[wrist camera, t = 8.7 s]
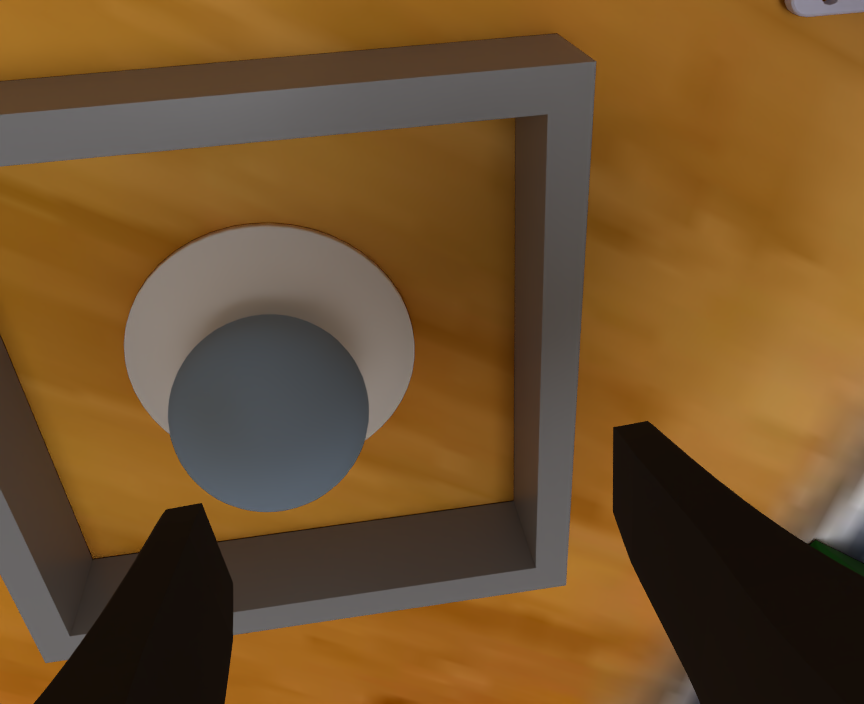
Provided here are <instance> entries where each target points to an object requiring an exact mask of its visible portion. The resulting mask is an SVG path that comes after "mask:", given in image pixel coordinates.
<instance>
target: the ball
mask: <svg viewBox="0 0 864 704" xmlns="http://www.w3.org/2000/svg"><path fill="white" fill-rule="evenodd" d="M368 422H369V401H368V394H367V390H366V386H365V383H364V379H363V376H362V374H361V372H360V370H359V368H358V366H357V364H356V362H355V360H354V359H353V358H352V356H351V355H350V353H349V352H348V351H347V350H346V349H345V348H344V347H343V345H342V344H341V343H340V342H339V341H338V340H337V339H336V338H334V337H333V336H332V335H331V334H330V333H328V332H326V331H325V330H323V329H322V328H320V327H318V326H316V325H314V324H312V323H310V322H308V321H305V320H302V319H299V318H296V317H291V316H286V315H277V314H262V315H254V316H249V317H245V318H241V319H238V320H235V321H233V322H230V323H228V324H225V325H224V326H222V327H220V328H218V329H216V330H215V331H213V332H212V333H210V334H209V335H207V336H206V337H205V338H204V339H203V340H202V341H201V342H200V343H198V344H197V345H196V346H195V347H194V348H193V350H192V351H191V352H190V353H189V354H188V356H187V357H186V359H185V360H184V362H183V363H182V365H181V367H180V369H179V370H178V372H177V375H176V377H175V380H174V383H173V385H172V388H171V393H170V397H169V405H168V424H169V431H170V437H171V440H172V444H173V447H174V449H175V452H176V455H177V457H178V458H179V460H180V462H181V464H182V465H183V467H184V468H185V470H186V471H187V473H188V474H189V475H190V477H191V478H192V479H193V480H194V481H195V482H196V483H197V484H198V485H199V486H200V487H201V488H203V489H204V490H205V491H206V492H208V493H209V494H210V495H212V496H213V497H215V498H216V499H218V500H220V501H222V502H224V503H226V504H229V505H232V506H235V507H238V508H241V509H245V510H250V511H257V512H277V511H284V510H289V509H293V508H296V507H299V506H302V505H305V504H308V503H310V502H312V501H314V500H316V499H318V498H319V497H321V496H323V495H324V494H326V493H327V492H328V491H329V490H331V489H332V488H333V487H334V486H336V485H337V484H338V483H339V482H340V481H341V480H342V479H343V478H344V477H345V475H346V474H347V473H348V471H349V470H350V469H351V467H352V466H353V465H354V463H355V461H356V459H357V458H358V456H359V454H360V451H361V449H362V447H363V444H364V441H365V438H366V433H367V428H368Z"/></svg>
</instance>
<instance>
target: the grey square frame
mask: <svg viewBox="0 0 864 704" xmlns="http://www.w3.org/2000/svg"><path fill="white" fill-rule="evenodd" d="M595 73H596V61H595V60H593V59H592V58H591V57H589V56H588V55H586V54H585V53H584V52H582V51H581V50H579V49H578V48H577V47H575V46H574V45H572V44H571V43H570V42H568V41H567V40H565V39H564V38H563V37H561V36H560V35H558V34H546V35H534V36H522V37H511V38H499V39H487V40H476V41H464V42H452V43H441V44H429V45H418V46H406V47H394V48H383V49H371V50H359V51H348V52H336V53H324V54H313V55H301V56H290V57H278V58H266V59H255V60H243V61H231V62H220V63H208V64H196V65H185V66H173V67H162V68H150V69H138V70H127V71H115V72H103V73H92V74H80V75H69V76H57V77H45V78H34V79H22V80H10V81H0V166H10V165H20V164H31V163H41V162H52V161H62V160H73V159H83V158H94V157H104V156H115V155H125V154H136V153H146V152H157V151H167V150H178V149H188V148H199V147H209V146H220V145H230V144H241V143H251V142H262V141H272V140H283V139H293V138H304V137H314V136H325V135H336V134H346V133H357V132H367V131H378V130H388V129H399V128H409V127H420V126H430V125H441V124H451V123H462V122H472V121H483V120H493V119H504V118H514V117H516V131H515V354H514V501H511V502H504V503H497V504H490V505H482V506H475V507H468V508H461V509H454V510H446V511H439V512H432V513H425V514H418V515H410V516H403V517H396V518H389V519H382V520H374V521H367V522H360V523H353V524H346V525H338V526H331V527H324V528H317V529H310V530H302V531H295V532H288V533H281V534H274V535H266V536H259V537H252V538H245V539H238V540H230V541H223V542H217V543H218V546H219V548H220V551H221V553H222V556H223V558H224V561H225V563H226V566H227V568H228V571H229V574H230V576H231V579H232V581H233V635H236V634H243V633H249V632H256V631H263V630H269V629H276V628H283V627H290V626H296V625H303V624H310V623H316V622H323V621H330V620H336V619H343V618H350V617H356V616H363V615H370V614H377V613H383V612H390V611H397V610H403V609H410V608H417V607H423V606H430V605H437V604H444V603H450V602H457V601H464V600H470V599H477V598H484V597H490V596H497V595H504V594H510V593H517V592H524V591H531V590H537V589H544V588H551V587H557V586H564V585H566V575H567V558H568V541H569V523H570V506H571V489H572V471H573V454H574V437H575V419H576V402H577V385H578V368H579V350H580V333H581V316H582V298H583V281H584V264H585V246H586V229H587V212H588V195H589V177H590V160H591V143H592V125H593V108H594V91H595ZM262 314H277V315H286V316H291V317H296V318H299V319H302V320H305V321H308V322H310V323H312V324H314V325H316V326H318V327H320V328H322V329H323V330H325V331H326V332H328V333H330V334H331V335H332V336H333V337H334V338H336V339H337V340H338V341H339V342H340V343H341V344H342V345H343V347H344V348H345V349H346V350H347V351H348V352H349V353H350V355H351V356H352V358H353V359H354V360H355V362H356V364H357V366H358V368H359V370H360V372H361V374H362V376H363V379H364V383H365V386H366V390H367V394H368V401H369V422H368V428H367V433H366V438H365V440H366V439H367V438H369V437H370V436H371V435H373V434H374V433H375V432H376V431H377V430H378V429H379V428H380V427H382V426H383V424H384V423H385V422H386V421H387V420H388V419H389V418H390V416H391V415H392V414H393V413H394V411H395V410H396V408H397V407H398V405H399V404H400V402H401V400H402V398H403V396H404V394H405V392H406V390H407V388H408V385H409V382H410V378H411V375H412V371H413V364H414V337H413V330H412V325H411V321H410V318H409V315H408V312H407V309H406V306H405V304H404V302H403V300H402V298H401V296H400V294H399V292H398V290H397V289H396V287H395V286H394V284H393V283H392V282H391V280H390V279H389V277H388V276H387V275H386V274H385V273H384V272H383V271H382V270H381V269H380V268H379V266H378V265H377V264H375V263H374V262H373V261H372V260H371V259H369V258H368V257H367V256H366V255H365V254H363V253H362V252H360V251H359V250H357V249H356V248H354V247H352V246H351V245H349V244H348V243H346V242H344V241H342V240H339V239H337V238H335V237H333V236H331V235H329V234H326V233H322V232H319V231H316V230H313V229H310V228H305V227H300V226H295V225H290V224H277V223H257V224H245V225H239V226H233V227H228V228H224V229H221V230H218V231H214V232H211V233H208V234H206V235H204V236H201V237H199V238H197V239H195V240H192V241H191V242H189V243H187V244H186V245H184V246H182V247H181V248H179V249H177V250H176V251H174V252H173V253H172V254H171V255H170V256H168V257H167V258H166V259H165V260H164V261H162V262H161V263H160V264H159V265H158V266H157V267H156V269H155V270H154V271H153V272H152V273H151V274H150V275H149V276H148V278H147V279H146V281H145V282H144V284H143V285H142V287H141V288H140V290H139V292H138V294H137V296H136V298H135V301H134V303H133V305H132V307H131V310H130V313H129V317H128V321H127V324H126V328H125V338H124V353H125V363H126V367H127V371H128V376H129V379H130V381H131V384H132V386H133V389H134V391H135V393H136V395H137V396H138V398H139V400H140V402H141V403H142V405H143V407H144V408H145V409H146V410H147V412H148V413H149V414H150V415H151V417H152V418H153V419H154V420H155V421H156V422H157V423H158V424H159V425H160V426H161V427H162V428H163V429H164V430H165V431H166V432H168V433H169V434H170V431H169V424H168V405H169V397H170V393H171V388H172V385H173V383H174V380H175V377H176V375H177V372H178V370H179V369H180V367H181V365H182V363H183V362H184V360H185V359H186V357H187V356H188V354H189V353H190V352H191V351H192V350H193V348H194V347H195V346H196V345H197V344H198V343H200V342H201V341H202V340H203V339H204V338H205V337H206V336H207V335H209V334H210V333H212V332H213V331H215V330H216V329H218V328H220V327H222V326H224V325H225V324H228V323H230V322H233V321H235V320H238V319H241V318H245V317H249V316H254V315H262ZM138 554H139V553H137V554H130V555H122V556H115V557H108V558H101V559H94V560H93V559H92V557H91V555H90V552H89V550H88V547H87V545H86V542H85V540H84V538H83V535H82V533H81V530H80V528H79V525H78V523H77V521H76V518H75V516H74V513H73V511H72V509H71V506H70V504H69V501H68V499H67V496H66V494H65V492H64V489H63V487H62V484H61V482H60V479H59V477H58V475H57V472H56V470H55V467H54V465H53V462H52V460H51V458H50V455H49V453H48V450H47V448H46V446H45V443H44V441H43V438H42V436H41V433H40V431H39V429H38V426H37V424H36V421H35V419H34V416H33V414H32V412H31V409H30V407H29V404H28V402H27V399H26V397H25V395H24V392H23V390H22V387H21V385H20V382H19V380H18V378H17V375H16V373H15V370H14V368H13V366H12V363H11V361H10V358H9V356H8V353H7V351H6V349H5V346H4V344H3V341H2V339H1V336H0V575H1V577H2V579H3V581H4V583H5V585H6V586H7V588H8V590H9V592H10V594H11V596H12V598H13V600H14V602H15V604H16V606H17V608H18V610H19V612H20V614H21V616H22V618H23V620H24V622H25V624H26V626H27V628H28V629H29V631H30V633H31V635H32V637H33V639H34V641H35V643H36V645H37V647H38V649H39V651H40V653H41V655H42V657H43V659H44V661H45V663H49V662H55V661H62V660H68V659H69V658H70V656H71V655H72V654H73V652H74V651H75V649H76V648H77V647H78V645H79V644H80V642H81V641H82V640H83V638H84V637H85V635H86V634H87V633H88V631H89V630H90V628H91V627H92V626H93V624H94V623H95V621H96V620H97V618H98V617H99V615H100V614H101V612H102V611H103V609H104V608H105V606H106V605H107V603H108V602H109V600H110V599H111V597H112V595H113V594H114V592H115V591H116V589H117V588H118V586H119V585H120V583H121V582H122V580H123V578H124V577H125V575H126V574H127V572H128V570H129V569H130V567H131V565H132V564H133V562H134V561H135V559H136V557H137V556H138Z"/></svg>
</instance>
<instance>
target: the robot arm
mask: <svg viewBox="0 0 864 704" xmlns="http://www.w3.org/2000/svg"><path fill="white" fill-rule="evenodd" d="M785 4H786V7H787V9H788V10H789V11H790V12H792V13H793V14H795V15H798V16H804V17H813V16H824V15H836V14H847V13H859V12H864V0H826V1H824V2H823V1H822V0H785ZM613 513H614V516H615V519H616V522H617V525H618V528H619V530H620V533H621V536H622V539H623V542H624V545H625V547H626V550H627V553H628V555H629V558H630V561H631V563H632V565H633V567H634V570H635V572H636V574H637V576H638V578H639V580H640V582H641V584H642V586H643V588H644V590H645V592H646V594H647V596H648V598H649V600H650V602H651V604H652V606H653V608H654V610H655V612H656V614H657V616H658V617H659V619H660V621H661V623H662V625H663V627H664V629H665V631H666V633H667V635H668V637H669V639H670V641H671V643H672V645H673V647H674V649H675V651H676V653H677V655H678V657H679V659H680V661H681V663H682V665H683V667H684V669H685V671H686V673H687V675H688V677H689V679H690V681H691V683H692V686H693V688H694V690H695V692H696V694H697V697H698V699H699V701H700V704H864V576H862V575H860V574H858V573H856V572H854V571H853V570H851V569H849V568H847V567H845V566H844V565H842V564H840V563H838V562H837V561H835V560H833V559H832V558H830V557H828V556H827V555H825V554H823V553H822V552H820V551H818V550H817V549H815V548H813V547H811V546H810V545H808V544H806V543H805V542H803V541H802V540H800V539H799V538H797V537H796V536H794V535H793V534H791V533H790V532H788V531H787V530H785V529H784V528H782V527H781V526H779V525H778V524H776V523H775V522H774V521H772V520H771V519H769V518H768V517H766V516H765V515H764V514H762V513H761V512H759V511H758V510H757V509H755V508H754V507H753V506H751V505H750V504H749V503H747V502H746V501H744V500H743V499H742V498H741V497H739V496H738V495H737V494H735V493H734V492H733V491H732V490H730V489H729V488H728V487H726V486H725V485H724V484H723V483H721V482H720V481H719V480H717V479H716V478H715V477H714V476H712V475H711V474H710V473H709V472H708V471H706V470H705V469H704V468H703V467H701V466H700V465H699V464H698V463H697V462H695V461H694V460H693V459H692V458H691V457H689V456H688V455H687V454H686V453H685V452H684V451H682V450H681V449H680V448H679V447H678V446H677V445H675V444H674V443H673V442H672V441H671V440H670V439H668V438H667V437H666V436H665V435H664V434H663V433H662V432H660V431H659V430H658V429H657V428H656V427H655V426H653V425H652V424H651V423H649V422H648V421H645V422H640V423H634V424H629V425H623V426H618V427H613ZM232 643H233V581H232V579H231V576H230V574H229V571H228V568H227V566H226V563H225V561H224V558H223V556H222V553H221V551H220V548H219V546H218V543H217V541H216V538H215V536H214V533H213V531H212V528H211V525H210V523H209V520H208V518H207V515H206V513H205V510H204V508H203V505H202V503H199V504H194V505H188V506H183V507H178V508H172V509H167V510H165V512H164V513H163V514H162V516H161V517H160V519H159V521H158V522H157V524H156V526H155V527H154V529H153V531H152V532H151V534H150V536H149V537H148V539H147V541H146V542H145V544H144V546H143V547H142V549H141V551H140V552H139V554H138V556H137V557H136V559H135V561H134V562H133V564H132V565H131V567H130V569H129V570H128V572H127V574H126V575H125V577H124V578H123V580H122V582H121V583H120V585H119V586H118V588H117V589H116V591H115V592H114V594H113V595H112V597H111V599H110V600H109V602H108V603H107V605H106V606H105V608H104V609H103V611H102V612H101V614H100V615H99V617H98V618H97V620H96V621H95V623H94V624H93V626H92V627H91V628H90V630H89V631H88V633H87V634H86V635H85V637H84V638H83V640H82V641H81V642H80V644H79V645H78V647H77V648H76V649H75V651H74V652H73V654H72V655H71V656H70V658H69V659H68V661H67V662H66V663H65V665H64V666H63V667H62V669H61V670H60V671H59V673H58V674H57V675H56V676H55V678H54V679H53V680H52V682H51V683H50V684H49V685H48V687H47V688H46V689H45V690H44V692H43V693H42V694H41V695H40V697H39V698H38V699H37V700H36V701H35V703H34V704H224V703H225V696H226V689H227V682H228V674H229V666H230V659H231V651H232Z"/></svg>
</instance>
